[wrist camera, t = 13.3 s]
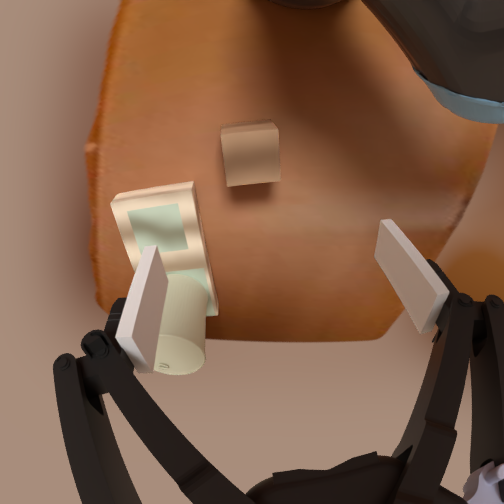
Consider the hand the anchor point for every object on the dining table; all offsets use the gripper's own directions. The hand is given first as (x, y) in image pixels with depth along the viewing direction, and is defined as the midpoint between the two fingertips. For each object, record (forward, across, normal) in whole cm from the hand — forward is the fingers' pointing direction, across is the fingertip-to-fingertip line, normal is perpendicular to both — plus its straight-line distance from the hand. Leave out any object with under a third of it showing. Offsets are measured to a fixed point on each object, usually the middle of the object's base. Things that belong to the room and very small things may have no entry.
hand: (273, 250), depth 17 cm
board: (+23, -13, -15) cm, 30 cm away
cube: (+23, 0, 0) cm, 23 cm away
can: (+20, -13, -21) cm, 32 cm away
